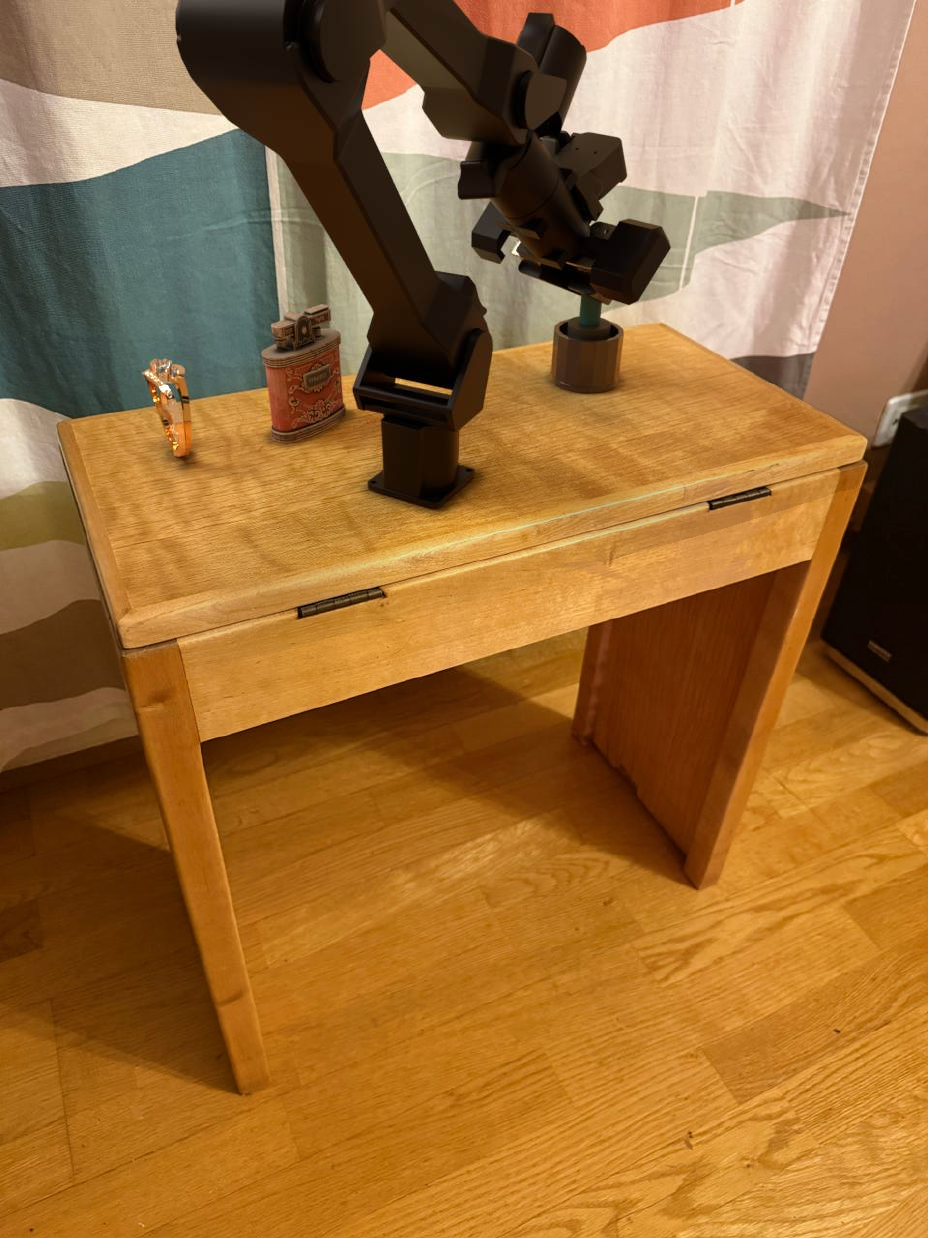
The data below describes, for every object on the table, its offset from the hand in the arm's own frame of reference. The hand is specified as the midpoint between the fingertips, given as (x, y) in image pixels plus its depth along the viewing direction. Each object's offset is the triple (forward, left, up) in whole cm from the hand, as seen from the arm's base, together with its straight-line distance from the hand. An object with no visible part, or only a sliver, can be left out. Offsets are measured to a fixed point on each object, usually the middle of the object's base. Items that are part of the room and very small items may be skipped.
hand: (601, 297), depth 86 cm
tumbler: (-1, 0, -8) cm, 8 cm away
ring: (-33, +23, -8) cm, 42 cm away
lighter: (-23, +17, -8) cm, 30 cm away
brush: (-1, 0, -7) cm, 7 cm away
